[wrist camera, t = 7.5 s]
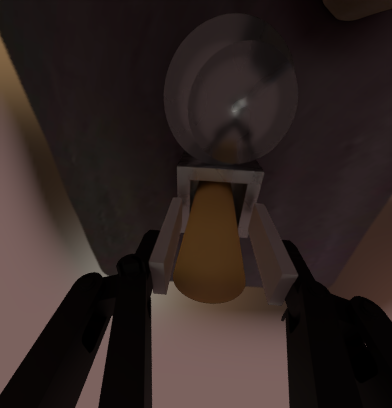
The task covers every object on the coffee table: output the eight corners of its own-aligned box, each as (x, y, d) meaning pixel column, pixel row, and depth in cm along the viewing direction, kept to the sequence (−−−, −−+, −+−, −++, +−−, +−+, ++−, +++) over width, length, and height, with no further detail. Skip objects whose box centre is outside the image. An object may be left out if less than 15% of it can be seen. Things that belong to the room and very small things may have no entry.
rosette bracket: (233, 249, 30) (248, 353, 18) (180, 245, 30) (160, 343, 18) (277, 46, 16) (473, -100, 4) (178, 42, 16) (90, -101, 4)
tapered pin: (196, 167, 20) (163, 258, 8) (227, 162, 20) (241, 252, 8) (202, 195, 22) (183, 304, 10) (231, 190, 21) (248, 302, 9)
